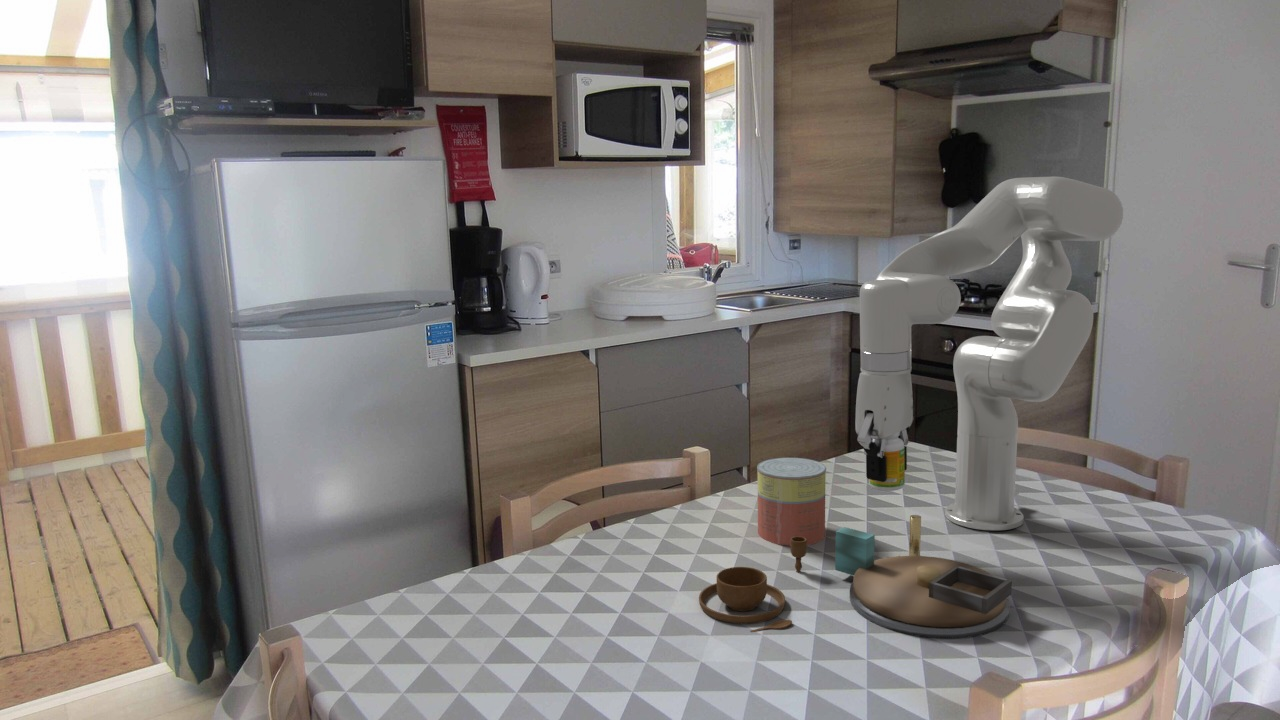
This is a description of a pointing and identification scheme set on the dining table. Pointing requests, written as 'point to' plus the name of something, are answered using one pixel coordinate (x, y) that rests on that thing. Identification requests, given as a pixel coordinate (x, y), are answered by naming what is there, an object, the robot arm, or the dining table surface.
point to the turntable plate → (919, 585)
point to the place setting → (750, 591)
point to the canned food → (791, 500)
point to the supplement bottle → (892, 464)
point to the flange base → (920, 629)
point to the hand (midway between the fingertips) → (886, 473)
